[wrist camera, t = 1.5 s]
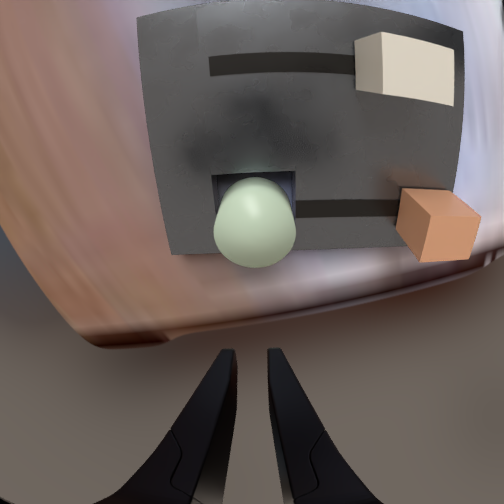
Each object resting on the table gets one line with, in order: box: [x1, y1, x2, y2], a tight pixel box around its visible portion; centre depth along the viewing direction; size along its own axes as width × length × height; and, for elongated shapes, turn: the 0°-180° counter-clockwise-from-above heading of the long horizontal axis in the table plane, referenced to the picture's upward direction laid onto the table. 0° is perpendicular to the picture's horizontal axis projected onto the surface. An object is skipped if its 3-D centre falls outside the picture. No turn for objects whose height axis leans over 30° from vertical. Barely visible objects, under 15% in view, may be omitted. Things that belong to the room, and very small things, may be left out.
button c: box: [214, 177, 296, 268], centre depth 17 cm, size 4×4×3 cm
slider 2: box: [396, 188, 481, 262], centre depth 16 cm, size 4×3×4 cm
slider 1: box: [354, 32, 454, 106], centre depth 11 cm, size 4×3×4 cm
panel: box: [137, 0, 465, 255], centre depth 17 cm, size 20×16×2 cm
